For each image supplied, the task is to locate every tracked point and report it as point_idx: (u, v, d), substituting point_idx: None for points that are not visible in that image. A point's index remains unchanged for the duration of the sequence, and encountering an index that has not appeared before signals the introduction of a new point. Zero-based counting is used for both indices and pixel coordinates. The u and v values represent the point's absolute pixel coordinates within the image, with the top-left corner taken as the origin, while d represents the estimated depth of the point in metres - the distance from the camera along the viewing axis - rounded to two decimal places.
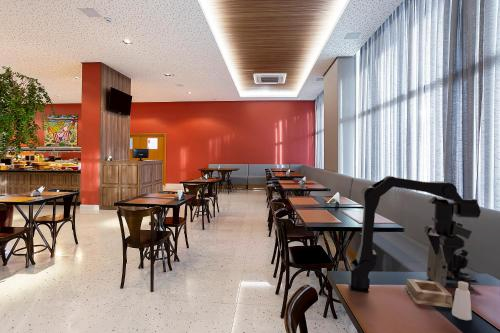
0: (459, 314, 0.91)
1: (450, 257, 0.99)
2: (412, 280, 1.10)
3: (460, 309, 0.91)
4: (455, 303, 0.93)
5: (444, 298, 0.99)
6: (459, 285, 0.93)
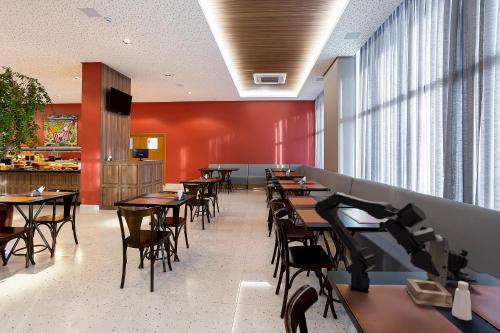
0: (459, 314, 0.91)
1: (434, 270, 0.91)
2: (412, 280, 1.10)
3: (460, 309, 0.91)
4: (455, 303, 0.93)
5: (444, 298, 0.99)
6: (459, 285, 0.93)
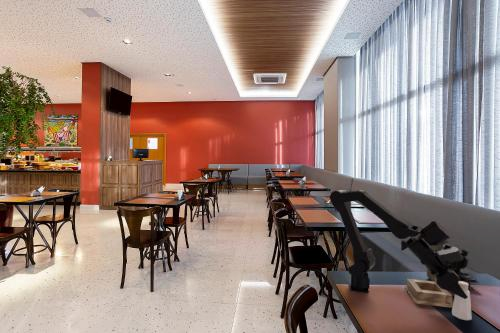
0: (459, 314, 0.91)
1: (462, 291, 0.88)
2: (412, 280, 1.10)
3: (460, 309, 0.91)
4: (455, 303, 0.93)
5: (444, 298, 0.99)
6: None
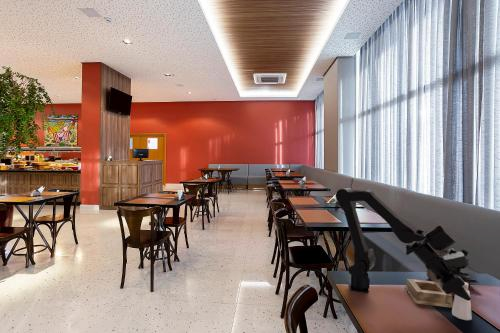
0: (459, 314, 0.91)
1: (465, 293, 0.90)
2: (412, 280, 1.10)
3: (460, 309, 0.91)
4: (455, 303, 0.93)
5: (444, 298, 0.99)
6: None
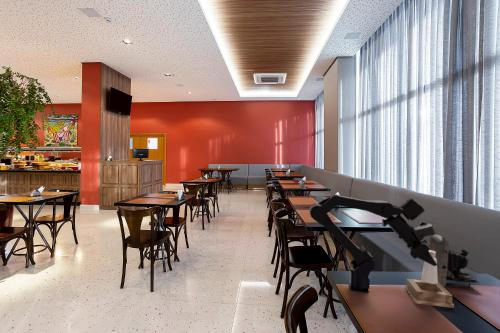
0: (427, 278, 1.02)
1: (432, 259, 1.01)
2: (412, 280, 1.10)
3: (428, 274, 1.02)
4: (424, 269, 1.04)
5: (444, 298, 0.99)
6: None
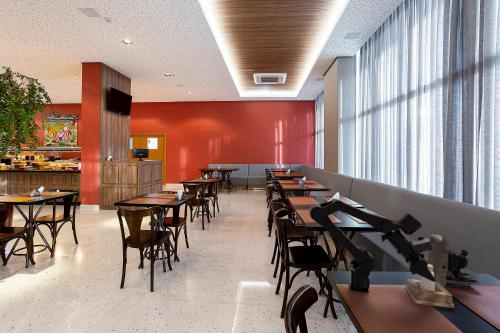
0: None
1: (430, 275, 1.01)
2: (412, 280, 1.10)
3: (425, 288, 1.03)
4: (421, 283, 1.05)
5: (444, 298, 0.99)
6: None
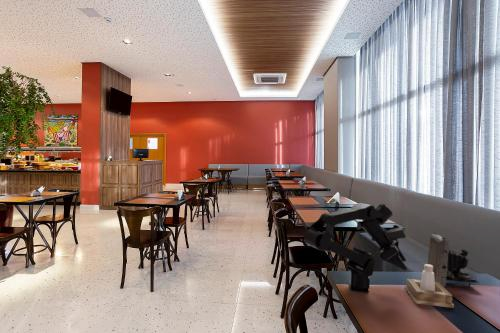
0: None
1: (402, 264, 1.03)
2: (412, 280, 1.10)
3: (425, 288, 1.03)
4: (421, 283, 1.05)
5: (444, 298, 0.99)
6: (425, 267, 1.05)
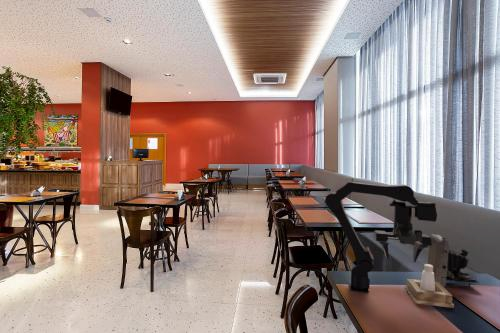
0: None
1: (385, 253, 1.06)
2: (412, 280, 1.10)
3: (425, 288, 1.03)
4: (421, 283, 1.05)
5: (444, 298, 0.99)
6: (425, 267, 1.05)
